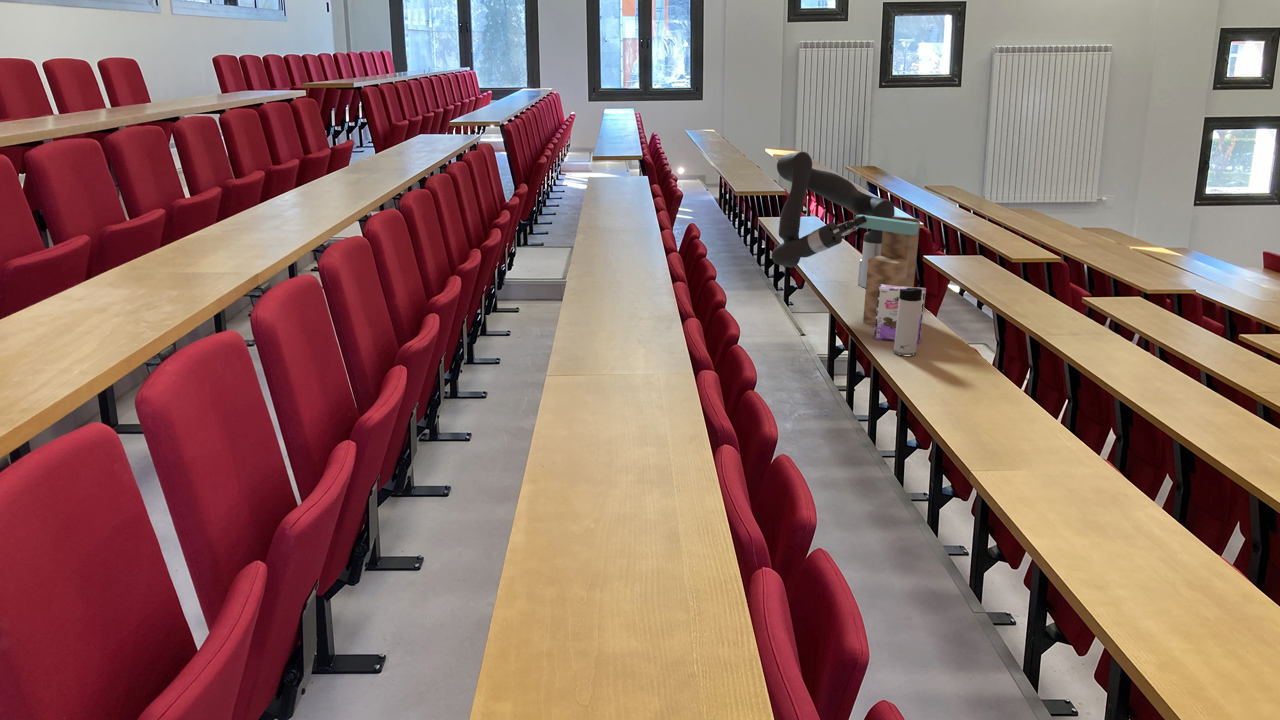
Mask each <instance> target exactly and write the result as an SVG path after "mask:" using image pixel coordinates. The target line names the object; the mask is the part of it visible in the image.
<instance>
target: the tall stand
mask: <svg viewBox="0 0 1280 720" xmlns="http://www.w3.org/2000/svg"><path fill="white" fill-rule="evenodd" d="M892 219H896V220H903V221H910V222H917V223H919V228H918V234H916V235H907V234H900V233H894V232H887V231H883V234H882V245H881V256H887V257H894V258H901V259H908V267H907V277H906V287H915V285H914V284H915V278H916V265H917V257H918V245H919V239H920V238H919V235H920V228H921V227H920V225H921V222H920V220H921V219H920V218H913V217H906V216H905V217H904V216H895V215H894V216H892Z"/></svg>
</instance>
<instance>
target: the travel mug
mask: <svg viewBox="0 0 1280 720" xmlns="http://www.w3.org/2000/svg"><path fill="white" fill-rule="evenodd" d="M919 288H920V287H918V288H907V289H900V296H899V303H898V313H897V323H896V334H895V341H894V346H893V354H895V353H896V354H900V355H913V354H915V353H916V354H917V344H918V343H917V337H918V327H919V318H920V308H921V296H922V289H919ZM896 354H895V355H896ZM916 354H915V355H916Z"/></svg>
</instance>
